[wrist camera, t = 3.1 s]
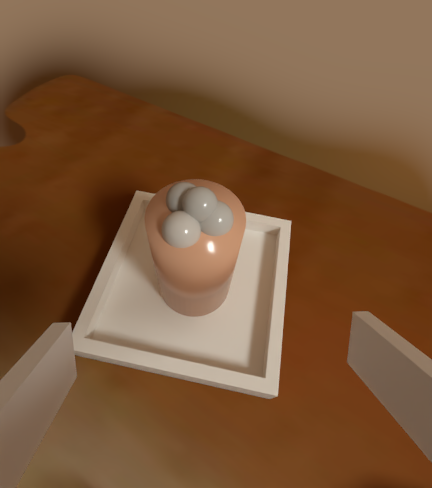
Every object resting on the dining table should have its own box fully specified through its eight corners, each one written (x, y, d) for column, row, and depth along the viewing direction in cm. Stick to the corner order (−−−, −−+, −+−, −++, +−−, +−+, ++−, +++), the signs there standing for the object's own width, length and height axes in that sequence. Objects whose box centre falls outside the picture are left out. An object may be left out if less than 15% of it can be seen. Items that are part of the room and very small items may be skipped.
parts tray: (76, 355, 24) (65, 348, 22) (140, 205, 33) (136, 190, 31) (270, 399, 24) (277, 396, 22) (284, 234, 32) (291, 221, 30)
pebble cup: (150, 308, 26) (122, 228, 16) (170, 246, 29) (158, 147, 19) (222, 323, 26) (243, 252, 15) (234, 259, 29) (258, 166, 19)
